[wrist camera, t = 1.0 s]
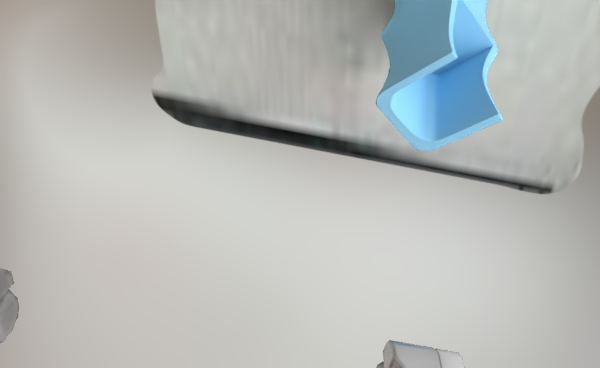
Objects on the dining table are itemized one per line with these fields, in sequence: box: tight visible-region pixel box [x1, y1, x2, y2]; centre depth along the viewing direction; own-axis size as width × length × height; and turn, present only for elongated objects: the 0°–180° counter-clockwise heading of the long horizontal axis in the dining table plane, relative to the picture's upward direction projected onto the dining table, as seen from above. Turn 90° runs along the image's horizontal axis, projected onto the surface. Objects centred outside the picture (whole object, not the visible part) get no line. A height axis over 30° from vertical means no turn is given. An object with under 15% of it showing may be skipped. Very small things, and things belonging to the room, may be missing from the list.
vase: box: [376, 0, 503, 151], centre depth 45 cm, size 8×8×20 cm
